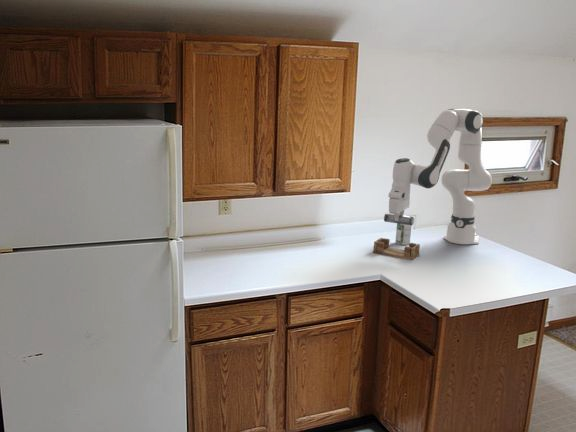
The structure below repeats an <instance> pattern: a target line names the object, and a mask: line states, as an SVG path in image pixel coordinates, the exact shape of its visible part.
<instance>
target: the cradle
mask: <svg viewBox="0 0 576 432" xmlns="http://www.w3.org/2000/svg"><path fill="white" fill-rule="evenodd" d="M390 242H391V241H390V238H384V237H380V238H378V239H377V240H375V241H374V242H373V250H372V251H373V252H372V253H373V254H376V255H377V254H378V255H383V256H388V257H395V258H400V259H406V260H409V261H414V260H415V259H416V258H417V257H419V255H420V246H421V245H420V243H414V242H410V244H408V246H407V245H406V246H404V249H402V248H395V247H391V246H390Z"/></svg>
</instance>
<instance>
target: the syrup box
mask: <svg viewBox="0 0 576 432" xmlns="http://www.w3.org/2000/svg"><path fill="white" fill-rule="evenodd" d="M411 235H412V225H406V224H399V223H396V231H395V243H396V244H398V245H400V246H404V245H406V246H407V245H409V244H410V243H411Z"/></svg>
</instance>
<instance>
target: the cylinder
mask: <svg viewBox="0 0 576 432" xmlns="http://www.w3.org/2000/svg"><path fill="white" fill-rule="evenodd" d="M383 221H384V222H385V223H393V224H397V223H399V224H406V225H411V226H414V224H415V217H413V216H407V215H403V216H400V215H399V221H395V216H394V214H390V213H384V216H383Z"/></svg>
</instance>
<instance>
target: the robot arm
mask: <svg viewBox="0 0 576 432" xmlns="http://www.w3.org/2000/svg"><path fill="white" fill-rule="evenodd" d="M483 124H484V117H483V114H482V113H481V112H480V111H478V110H475V109H474V110H472V109H467V108H456V109H455V108H449V109H447V110H444V111H442V112H441V113H440V114H439V115H438V116H437V118H436V119H435V120H434V121H433V123H432V124H431V125H430V128H428V129H429V130H428V132H427V134H426V136H427V137H426V138H427V142H428V143H429V145H430V146H431V147H433V148H434V150H435V152H434V154H433V157H432V159H431V161H430V163H429V165H427V166H424V165H420V164H416V163H414V162H413V161H412V160H411V159H410V158H406V157H405V158H398V159H396V160H395V161H394V163H393V169H392V184H391V189H390V191H389V193H388V198H389V199H388V212H389V213H388V214H393V215H394V216H395V221H399V215H400V216H404V214H405V210H407V209H408V208H410V204H411V203H410V202H411V201H410V199H411V198H410V197H411V196H410V195H411V185H415V186H420V187H423V188H425V189H432V188H433V187H435V186H436V185H437V184H438V182H439V178H440V174H441V172H442V169H443V166H444V164H445V162H446V159H447V157H448V155H449V152H450V149H451V143H450V141H451V138H452V136H453V134H454V133H455V131H458V132H460V136H459V142H458V143H459V144H458V153H457V157H458V160H460V162H463V163H464V164H466V165H467V166H468V169H457V168H454V169H448V170H445V171H444V172H443V174H442V175H441V184H442V187H444V189H445V190H447V191H448V192H449V195H450V196H451V199H452V214H451V217H450V222H449V223H448V224H447V228H446V234H445V235H444V236H443V237H442V239H443V240H446V241H448V243H453V244H456V245H457V244H458V245H478V244H479V243H480V240H479V239H480V236H479V235H477V233H476V229H477V227H476V225H475V222H476V221H475V210H476V209H475V208H476V202H475V200H474V199H472V198H471V197H469V196H467V195H466V194H465V192H466V191H467V192H468V191H469V192H470V191H471V192H482V191H487V190H489V188H491V186H492V183H493V177H492V175H491V173H490V172H489V171H487V170H486V168H485V167H484V165H483V163H482V160H481V159H482V158H481V156H482V155H481V153H482V144H483V139H482V138H483V135H482V134H483V131H482V127H483Z"/></svg>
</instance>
